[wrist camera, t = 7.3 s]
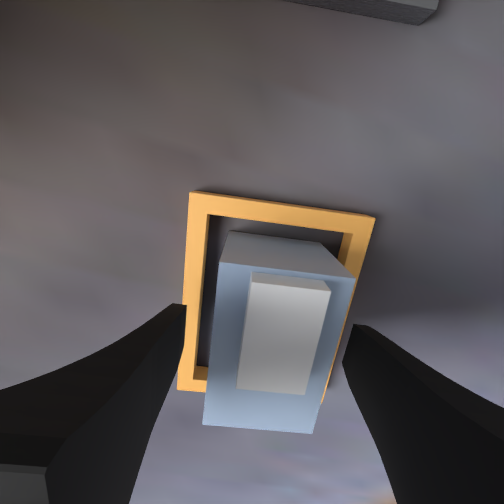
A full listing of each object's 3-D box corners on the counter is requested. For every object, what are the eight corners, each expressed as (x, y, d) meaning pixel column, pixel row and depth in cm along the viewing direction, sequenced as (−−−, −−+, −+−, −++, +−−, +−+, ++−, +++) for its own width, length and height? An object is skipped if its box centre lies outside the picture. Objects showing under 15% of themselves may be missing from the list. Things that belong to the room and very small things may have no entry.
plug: (215, 349, 14) (198, 444, 9) (228, 230, 12) (216, 271, 7) (293, 357, 15) (317, 454, 10) (319, 241, 13) (366, 289, 8)
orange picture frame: (181, 375, 15) (176, 389, 14) (194, 190, 12) (189, 192, 11) (317, 388, 15) (321, 403, 14) (365, 214, 12) (375, 218, 11)
